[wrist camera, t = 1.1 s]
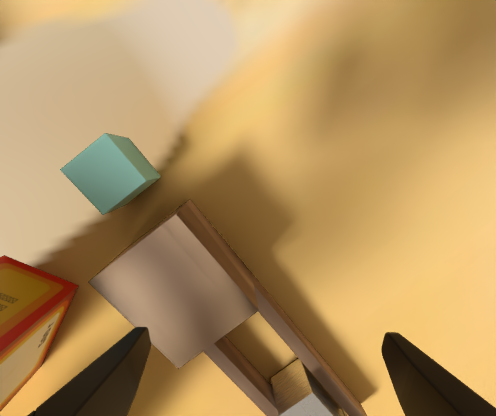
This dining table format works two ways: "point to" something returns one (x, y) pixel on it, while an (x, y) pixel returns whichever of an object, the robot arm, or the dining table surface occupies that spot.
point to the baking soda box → (27, 321)
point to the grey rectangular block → (302, 393)
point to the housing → (204, 304)
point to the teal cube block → (110, 172)
